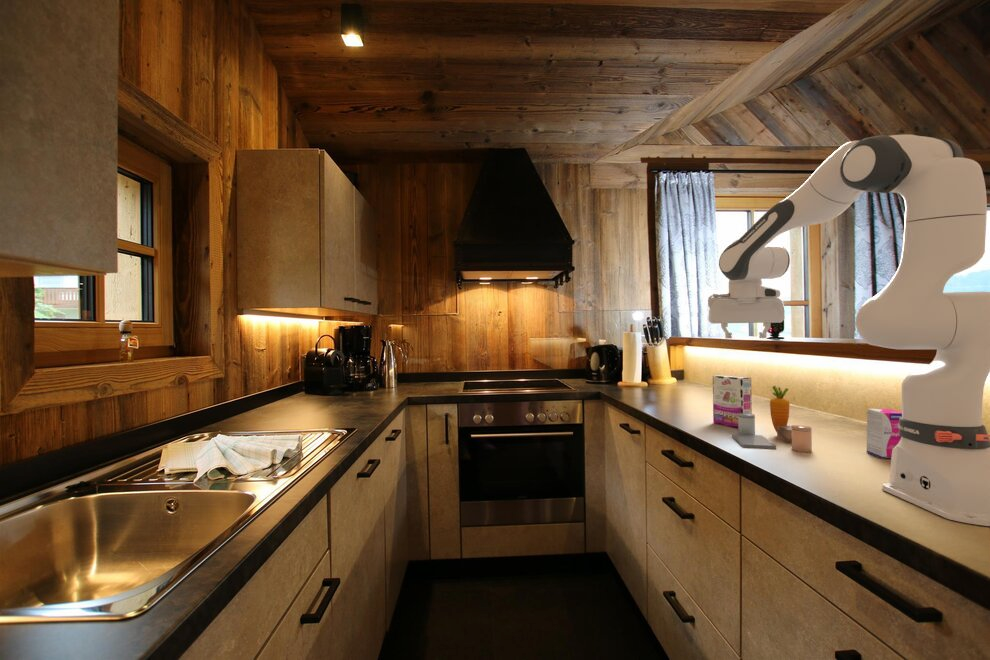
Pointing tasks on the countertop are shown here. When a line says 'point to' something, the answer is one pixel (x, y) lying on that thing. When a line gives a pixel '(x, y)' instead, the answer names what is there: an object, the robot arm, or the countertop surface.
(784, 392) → the carrot
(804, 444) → the terracotta jar
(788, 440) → the walnut block
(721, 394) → the candy bar box
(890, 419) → the supplement box
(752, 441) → the slate coaster
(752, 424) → the grey-blue jar
